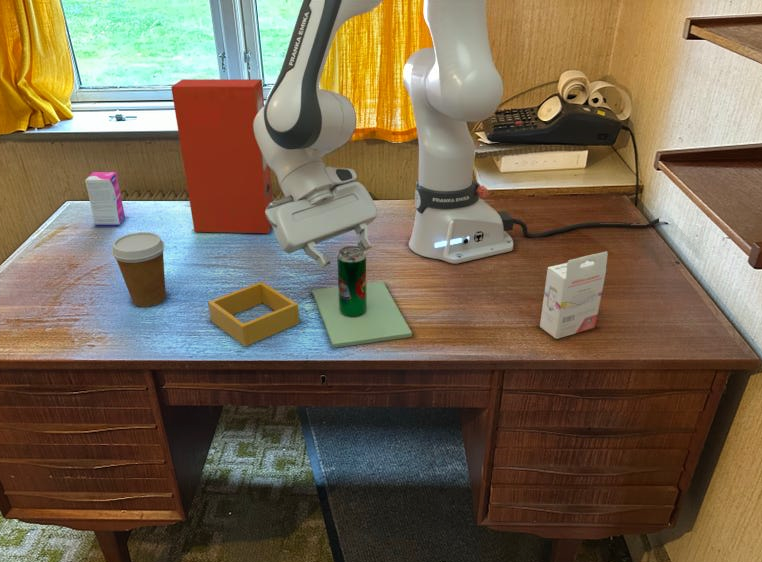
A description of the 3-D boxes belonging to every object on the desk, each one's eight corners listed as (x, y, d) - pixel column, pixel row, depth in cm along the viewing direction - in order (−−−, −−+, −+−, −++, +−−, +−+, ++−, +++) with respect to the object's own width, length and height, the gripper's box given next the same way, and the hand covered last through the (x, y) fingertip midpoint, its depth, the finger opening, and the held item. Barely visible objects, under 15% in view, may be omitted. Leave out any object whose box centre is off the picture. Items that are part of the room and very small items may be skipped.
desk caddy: (264, 300, 129) (262, 281, 127) (299, 323, 122) (298, 304, 119) (210, 321, 123) (207, 301, 121) (245, 346, 116) (242, 327, 113)
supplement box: (119, 226, 160) (108, 179, 154) (94, 227, 161) (83, 180, 154) (126, 217, 165) (116, 171, 159) (102, 217, 165) (91, 171, 159)
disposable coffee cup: (161, 313, 126) (149, 254, 119) (114, 309, 128) (100, 250, 121) (182, 289, 134) (171, 232, 127) (137, 285, 135) (125, 229, 128)
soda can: (334, 307, 124) (332, 247, 118) (360, 302, 126) (359, 242, 119) (345, 320, 121) (343, 259, 114) (371, 314, 122) (370, 253, 115)
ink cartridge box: (577, 315, 122) (591, 240, 113) (595, 328, 118) (611, 251, 110) (537, 326, 119) (549, 249, 111) (555, 340, 115) (568, 261, 107)
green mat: (382, 284, 133) (382, 280, 133) (412, 336, 117) (412, 332, 117) (312, 293, 131) (312, 289, 130) (332, 348, 115) (332, 344, 114)
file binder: (204, 219, 163) (183, 78, 145) (274, 220, 161) (261, 78, 143) (194, 232, 156) (170, 87, 138) (267, 234, 155) (252, 87, 137)
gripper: (266, 196, 112) (306, 268, 111) (360, 167, 122) (397, 233, 122) (255, 214, 117) (292, 283, 116) (345, 184, 128) (380, 248, 127)
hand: (346, 257), depth 119 cm, fingers open, 8 cm apart
